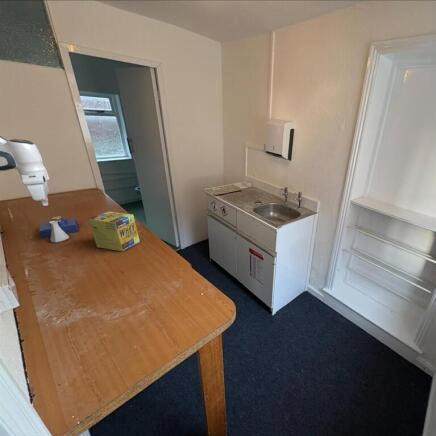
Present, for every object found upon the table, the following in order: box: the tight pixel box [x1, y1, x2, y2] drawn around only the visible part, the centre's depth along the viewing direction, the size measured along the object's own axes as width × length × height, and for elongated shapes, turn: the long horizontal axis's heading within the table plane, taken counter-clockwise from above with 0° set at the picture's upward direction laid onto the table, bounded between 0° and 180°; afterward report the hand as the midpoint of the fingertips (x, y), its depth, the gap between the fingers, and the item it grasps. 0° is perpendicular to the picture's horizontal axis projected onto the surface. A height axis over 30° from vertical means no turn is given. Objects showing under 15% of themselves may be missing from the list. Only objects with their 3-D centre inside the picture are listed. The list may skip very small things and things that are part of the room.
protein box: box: [87, 211, 140, 252], centre depth 114 cm, size 10×15×16 cm
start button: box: [51, 215, 63, 221], centre depth 127 cm, size 4×4×2 cm
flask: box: [48, 221, 70, 243], centre depth 118 cm, size 7×7×10 cm
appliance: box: [39, 217, 79, 239], centre depth 127 cm, size 14×11×6 cm
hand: (46, 204), depth 112 cm, fingers closed
